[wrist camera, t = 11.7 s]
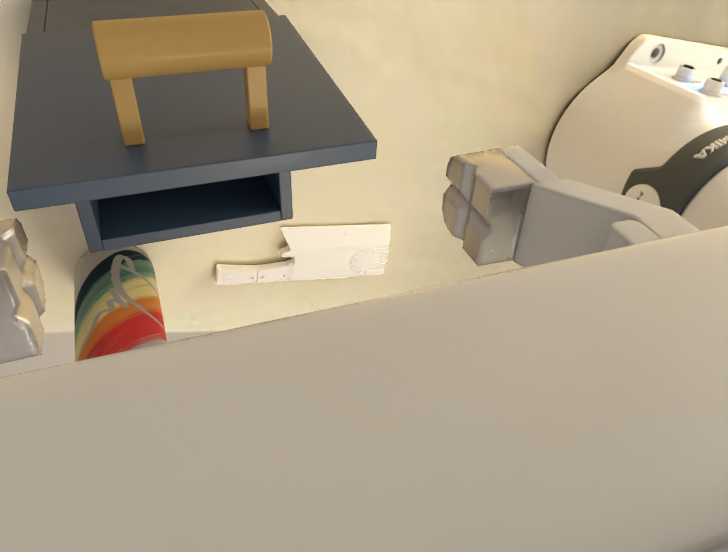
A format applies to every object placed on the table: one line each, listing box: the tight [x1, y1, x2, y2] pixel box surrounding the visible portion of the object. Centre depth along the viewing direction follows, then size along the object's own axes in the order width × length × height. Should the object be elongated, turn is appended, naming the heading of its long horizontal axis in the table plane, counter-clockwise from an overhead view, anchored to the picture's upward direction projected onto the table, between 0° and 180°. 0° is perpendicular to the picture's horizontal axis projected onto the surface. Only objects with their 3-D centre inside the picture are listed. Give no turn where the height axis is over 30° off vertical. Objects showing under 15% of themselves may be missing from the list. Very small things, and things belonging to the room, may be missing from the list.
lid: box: [7, 10, 377, 211], centre depth 24 cm, size 13×13×5 cm
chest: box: [27, 0, 293, 253], centre depth 37 cm, size 13×13×8 cm
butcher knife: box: [215, 224, 391, 286], centre depth 52 cm, size 5×15×1 cm, turn 78°
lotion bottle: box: [75, 246, 167, 362], centre depth 40 cm, size 6×6×20 cm
